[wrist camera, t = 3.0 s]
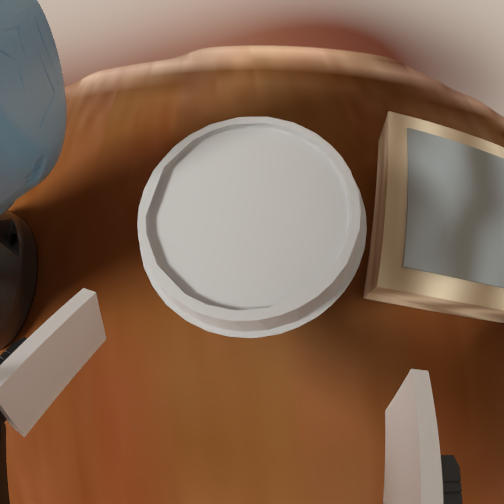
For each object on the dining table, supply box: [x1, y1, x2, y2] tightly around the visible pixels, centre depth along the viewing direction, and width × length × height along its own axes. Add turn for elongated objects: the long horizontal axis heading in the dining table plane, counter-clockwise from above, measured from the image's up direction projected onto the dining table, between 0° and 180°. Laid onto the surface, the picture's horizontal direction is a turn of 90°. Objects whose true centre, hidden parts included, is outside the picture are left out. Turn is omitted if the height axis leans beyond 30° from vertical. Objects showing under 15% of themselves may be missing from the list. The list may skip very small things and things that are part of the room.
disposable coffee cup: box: [137, 117, 367, 338], centre depth 18 cm, size 10×10×12 cm
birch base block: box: [363, 111, 504, 323], centre depth 21 cm, size 14×14×4 cm
